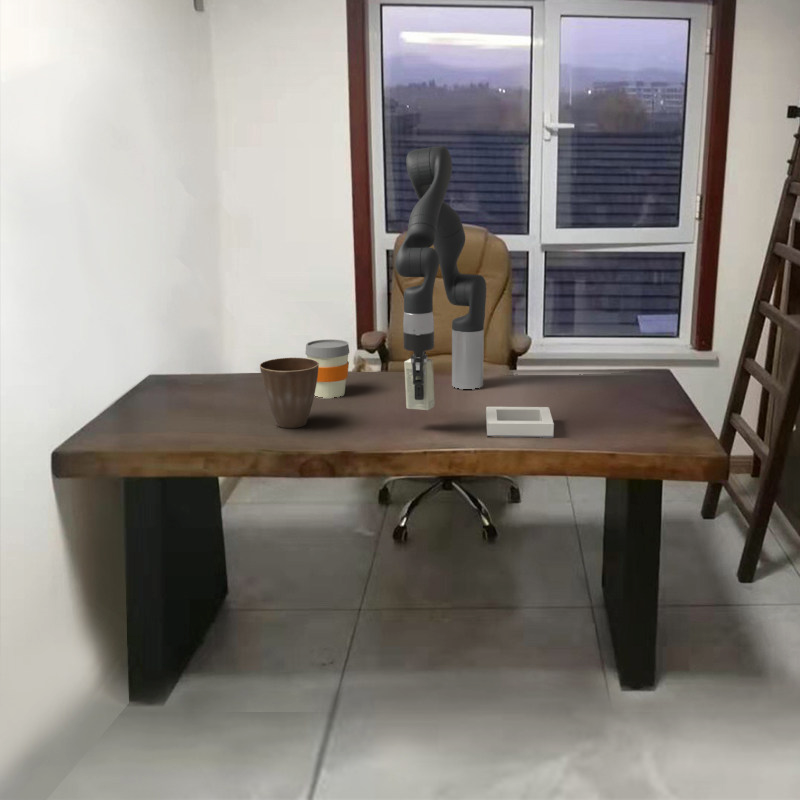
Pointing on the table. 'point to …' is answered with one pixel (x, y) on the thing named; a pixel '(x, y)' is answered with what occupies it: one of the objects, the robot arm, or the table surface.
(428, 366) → the skincare box
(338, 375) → the reusable coffee cup
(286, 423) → the plant pot
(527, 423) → the holder
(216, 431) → the table surface
